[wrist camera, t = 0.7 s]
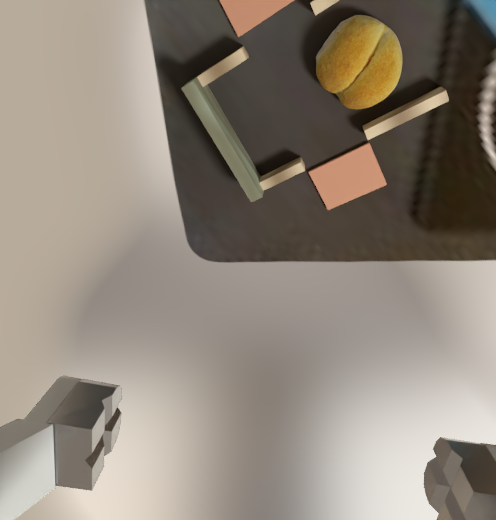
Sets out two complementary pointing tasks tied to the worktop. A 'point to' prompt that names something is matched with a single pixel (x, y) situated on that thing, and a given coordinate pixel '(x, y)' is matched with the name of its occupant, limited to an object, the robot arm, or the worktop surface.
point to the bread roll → (360, 62)
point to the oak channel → (257, 184)
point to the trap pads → (339, 169)
